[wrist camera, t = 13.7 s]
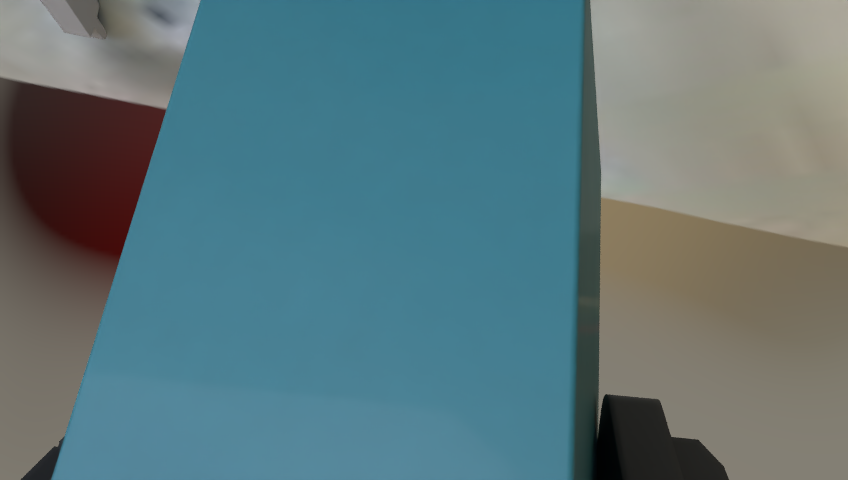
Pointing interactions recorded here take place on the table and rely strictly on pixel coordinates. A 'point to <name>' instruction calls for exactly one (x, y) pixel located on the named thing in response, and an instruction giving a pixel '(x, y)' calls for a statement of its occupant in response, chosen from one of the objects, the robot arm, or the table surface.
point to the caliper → (77, 17)
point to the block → (359, 253)
